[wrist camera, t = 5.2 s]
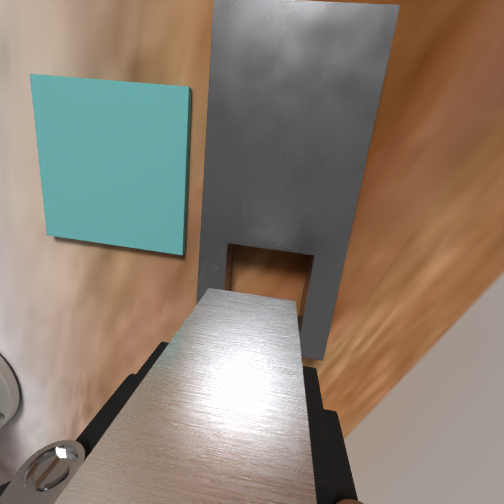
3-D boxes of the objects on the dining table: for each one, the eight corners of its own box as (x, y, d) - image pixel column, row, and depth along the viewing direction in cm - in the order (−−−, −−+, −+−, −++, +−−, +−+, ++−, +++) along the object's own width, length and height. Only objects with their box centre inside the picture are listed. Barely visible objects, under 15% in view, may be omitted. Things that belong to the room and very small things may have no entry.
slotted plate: (319, 341, 22) (322, 360, 20) (204, 321, 23) (194, 337, 21) (383, 31, 16) (400, 5, 14) (224, 23, 17) (213, -3, 15)
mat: (185, 253, 21) (182, 255, 21) (53, 233, 23) (47, 235, 22) (192, 89, 18) (188, 86, 18) (37, 77, 19) (29, 73, 19)
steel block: (282, 375, 14) (282, 794, 4) (203, 361, 14) (41, 719, 5) (295, 301, 13) (331, 648, 3) (208, 288, 13) (10, 564, 4)
